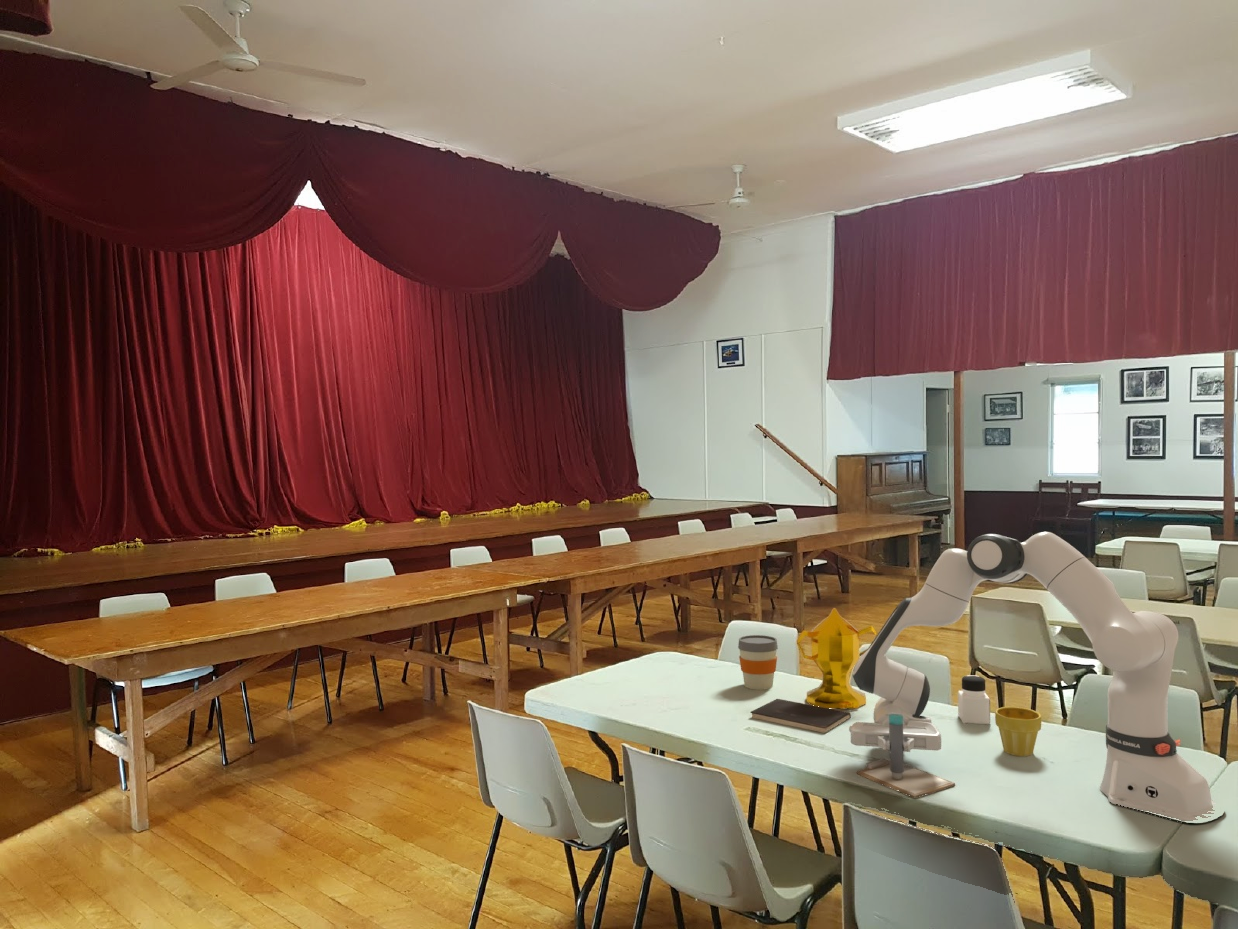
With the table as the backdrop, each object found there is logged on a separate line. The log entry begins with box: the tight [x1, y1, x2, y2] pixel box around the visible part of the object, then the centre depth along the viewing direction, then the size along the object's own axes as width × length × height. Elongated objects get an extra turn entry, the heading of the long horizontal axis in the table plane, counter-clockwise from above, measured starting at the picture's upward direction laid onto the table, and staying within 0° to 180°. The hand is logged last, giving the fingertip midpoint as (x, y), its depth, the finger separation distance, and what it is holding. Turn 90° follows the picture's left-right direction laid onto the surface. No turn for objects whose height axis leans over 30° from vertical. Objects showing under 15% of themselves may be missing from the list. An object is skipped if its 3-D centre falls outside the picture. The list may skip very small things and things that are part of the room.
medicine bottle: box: [957, 674, 991, 725], centre depth 238 cm, size 7×7×12 cm
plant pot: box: [994, 706, 1042, 757], centre depth 213 cm, size 10×10×10 cm
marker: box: [889, 714, 905, 779], centre depth 195 cm, size 3×3×14 cm
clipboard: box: [856, 758, 956, 798], centre depth 197 cm, size 17×13×2 cm
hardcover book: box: [750, 698, 852, 733], centre depth 243 cm, size 16×23×2 cm
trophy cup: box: [796, 607, 878, 710], centre depth 257 cm, size 18×24×28 cm
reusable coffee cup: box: [737, 634, 779, 691], centre depth 276 cm, size 13×13×15 cm
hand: (896, 747), depth 195 cm, fingers closed on marker, 3 cm apart
